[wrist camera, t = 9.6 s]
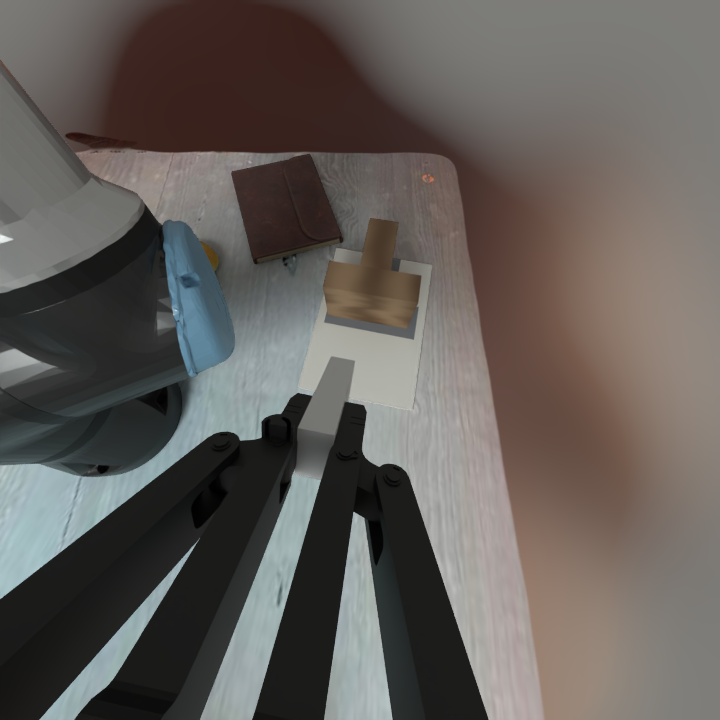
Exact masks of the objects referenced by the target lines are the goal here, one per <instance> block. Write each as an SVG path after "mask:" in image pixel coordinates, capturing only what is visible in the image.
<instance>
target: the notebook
mask: <svg viewBox="0 0 720 720" xmlns="http://www.w3.org/2000/svg"><path fill="white" fill-rule="evenodd" d="M232 179H233V183H234V187H235V190H236V194H237V198H238V202H239V206H240V210H241V214H242V218H243V222H244V226H245V230H246V234H247V238H248V242H249V246H250V250H251V254H252V258H253V261H254V263H255V264H257V263H260V262H264V261H268V260H272V259H276V258H280V257H284V256H288V255H292V254H296V253H300V252H304V251H308V250H312V249H316V248H320V247H324V246H328V245H332V244H336V243H340V242H341V243H342V242H343V237H342V235H341V232H340V230H339V227H338V224H337V222H336V219H335V217H334V214H333V211H332V209H331V206H330V204H329V201H328V199H327V196H326V193H325V191H324V188H323V186H322V183H321V180H320V178H319V175H318V173H317V170H316V167H315V165H314V162H313V160H312V157H311V155H310V154H307V155H302V156H297V157H293V158H291V159H289V160H285V161H280V162H275V163H270V164H266V165H261V166H256V167H251V168H246V169H242V170H237V171H232ZM339 239H340V242H339Z"/></svg>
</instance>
